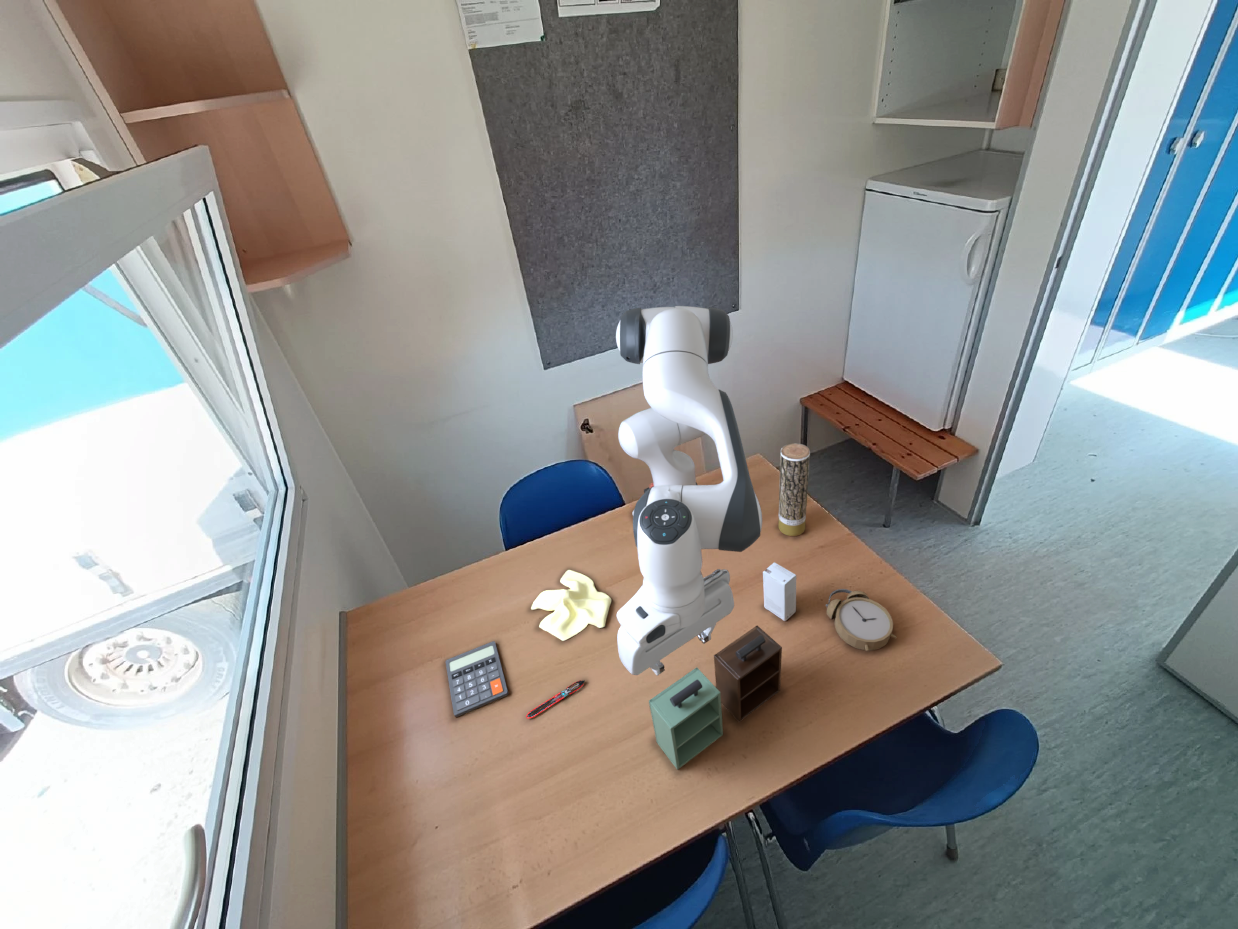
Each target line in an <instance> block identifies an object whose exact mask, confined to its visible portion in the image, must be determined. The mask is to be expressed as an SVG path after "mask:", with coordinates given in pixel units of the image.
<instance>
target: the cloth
mask: <svg viewBox="0 0 1238 929" xmlns="http://www.w3.org/2000/svg"><path fill="white" fill-rule="evenodd" d="M559 582H560V584H562V585H563V586H564V587H567V588H569V589H564V588H560V589H547V590H543V591H542V592H539V595H538V596H537V597H535V598H536V599H535V600H534V601H533V603H532V604H531V607H530V609H531V610H532V611H533V610H537V609H540V610H542V611H547V612H552V611H553V612H552V613H549V614H548V615H547V616H545V617H544V618H543V619H542V620H541V621H540V623H539V626H538V627H539V628H540V629H541V630H543V631H544V632H547V633H548V634H550V635H552V636H553V637H555V638H557V639H559V640H561V641H562V642H564V641H567V640H569V639H570V638H572V637H574V636H576V635H577V634H579V633H581V632H582V631H583V630H584V629H586V627H587V626H588V625H592V626H595V627H597V628H598V629H600V628H601V629H602V628H604V627H606V623H607V618H608V615H609V610H610V606H611V604H612V598H611V597H610V596H609V595H607V594H606V593H605V592H602V591H598V590H597V589H596V587H595V583H594V581H593V580H592V579H591V578H590V577H588V576H587V575H584V574H582V573H580V572H577V571H575V570H571V569H567V570H566V571H565V573H563V575H562V576H561V578H560V580H559Z"/></svg>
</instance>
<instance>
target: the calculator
mask: <svg viewBox="0 0 1238 929" xmlns="http://www.w3.org/2000/svg"><path fill="white" fill-rule="evenodd" d="M445 668H446V674H447V682H448V686H449V693H450V700H451V706H452V712H453V716H454V717H456V718H457V717H459V716H462V715H465V714H467V713H469V712H471V711H474V710H476V709H479V708H481V707H483V706H486V705H488V704H491V703H492V702H495V701H497V700H500V699H502V698H504V697H507V696H508V695H509V690H508V686H507V682H506V679H505V675H504V671H503V667H502V664H501V659H500V654H499V651H498V647H497V644H496V641H495V640H493V641H490V642H487V643H485V644H482V645H480V646H478V647H475V648H473V649H470V650H468V651H465V652H462V653H461V654H457V655H455V656H453V657H450V658H447V659H446V660H445Z"/></svg>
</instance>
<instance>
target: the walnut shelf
mask: <svg viewBox="0 0 1238 929" xmlns="http://www.w3.org/2000/svg"><path fill="white" fill-rule="evenodd" d="M782 658H783V646H781V645H780V644H779V643H778V642H777V641H775V639H773V637H771V636H770V635H769V634H768V633H767V632H766V631H764V630H763V629H762V628H761V627H760V626H759V625H755V626H754V627H753V628H751V629H750V630H748V631H747V632H745V633H744V634H743V635H741V636H739V637H738V638H737V639H735V640H734V641H733V642H731V643H730V644H728V645H727V646H725V647H724V648H722V649H721V650H720V651H718V652H716V653H715V654H714V655H713V662H714V663H713V664H714V676H715V677H714V678H715V687H716V688H717V689H718V690H719V691H720V695H721V705H722V706H723V707H724V708H725V709H726V710H727V711H728V712H729V713H730V714H731V715H732V717H733V718H734V719H735V720H736V721H737V722H738V723H741V721H743V720H744V719H746V718H747V717H748V716H749V715H751V714H752V713H753V712H755V711H756V710H757V709H758V708H760V707H761V706H762V705H764V704H765V703H767V701H769V700H770V699H771V698H773V697H774V696H776V694H778V693H779V692H781V683H782V682H781V680H782Z"/></svg>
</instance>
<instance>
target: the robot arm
mask: <svg viewBox="0 0 1238 929" xmlns="http://www.w3.org/2000/svg"><path fill="white" fill-rule="evenodd" d="M733 338H734V330H733V324H732V322H731V318H730V316H729V314H728V313H727V312H726V311H725V310H724V309H721V308H717V307H712V306H708V308H705V307H700V306H687V305H674V306H658V307H650V308H649V307H647V308H643V309H642V308H641V307H636V308H631V309H628V310H625V311H624V312H623V314H622V315H621V316H620V320H619V322H618V323H617V327H616V331H615V341H616V346H617V349H618V351H619V354H620V357H621V358H622V359H623V360H624V361H626V362H628V363H631V364H636V365H641V364H642V389H643V395H644V398H645V400H646V403H647V404H648V405H649V408H646V409H644V410H641V411H637V412H636V413H634V414H633V415H631V416H629V417H628V418H626V419H624V420H623V421H621V423H620V425H619V428H618V432H617V433H618V434H617V436H618V437H617V438H618V442H619V445H620V447H621V449H622V450H623V452H624V453H625V454H626V455H628V456H629V457H630V458H633V459H635V460H639V461H641V462H643V463H645V465H647V467H648V468H649V470H650V473H651V477H652V482H651V483H650V484H648V487H646V488H644V489H643V494H642V495H641V497H639V499H638V500H637V501H636V503H635V505H634V509H633V510H632V531H633V538H634V544H635V547H636V550H637V558H638V566H639V571H640V573H641V575H642V577H643V579H642V585H641V586H640V587H639V589H638V590H637V591H636V593H635V594H634V595H633V596H632V597H631V598H629V600H628V601H627V602H626V603H625V604H624V605H623V606H621V608H619V609H618V611H617V613H616V620H617V622H618V623H619V625H620V627H619V628H618V631H617V635H616V637H617V638H616V639H617V642H616V643H617V651H618V656H619V661H620V662H621V663H622V665H623V667H624V668H625V669H626V670H627V671H628V672H629V674H631V675H632V676H639V675H641V674H642V673H643V672H645V671H646V670H649V669H651V670H652V672H653V673H654V674H655V675H656V677H657V676H659V675H661V674H662V673H664V672H665V671H666V669H665V664H664V663H663V662H662V660H663V659H664V658H666V657H668V656H669V655H670V654H673V652H675V651H676V650H678V649H680V647H682V646H684V645H685V644H687V643H688V642H690V641H691V640H693V639H695V638H696V637H697V639H698V640H699V641H701V643H702V644H703V645H705V644H706V643H708V642H710V641H711V640H712V633H713V631H714V629H715V627H716V626H717V623H718V622H720V621H721V620H723V619H724V618H726V617H728V616H729V615H730V614H731V613H732V612H733V610H734V608H735V599H734V595H733V590H732V588H731V585H729V584H730V583H731V582H730V581H731V575H730V572H729V570H728V569H725V568H723V569H721V568H717V569H715V570H714V571H712V573H710V574H707V575H706V576H703V573H702V567H703V554H702V550H718V551H725V552H735V553H736V552H737V553H742V552H743V551H745V550H747V549H748V548H750V547H751V546H752V545H754V543H756V542H757V541H758V539H759V538H761V533H762V528H763V512H762V508H761V505H760V504H761V503H760V501H759V499H758V496H757V494H756V491H755V489H754V486H753V482H752V479H751V475H750V471H749V468H748V463H747V459H746V454H745V450H744V446H743V442H742V438H741V434H740V430H739V425H738V422H737V419H736V415H735V411H734V408H733V404H732V402H731V399H730V398H729V396H728V394H727V392H725V391H724V390H721V389H719V388H717V386H715V384H714V383H713V381H712V379H711V378H710V374H709V365H712V364H717V363H720V362H722V361H723V360H725V358H726V357H728V354H729V352H730V349H731V347H732V344H733ZM704 435H708V436H709V437H710V438H711V439H712V441H713V442H714V445H715V447H716V452H717V453H716V454H717V457H718V461H719V466H720V471H721V476H722V479H723V480H722V481H721V482H720V483H717V484H698V483H697V475H696V465H695V462H694V460H693V459H692V457H691V456H690V455H689V454H687V453H685V452H684V451H681V450H677V449H675V448H676V447H678V446H681V445H684V444H686V443H689V442H691V441H694V440H697V439H700V438H701V437H703V436H704Z"/></svg>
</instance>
